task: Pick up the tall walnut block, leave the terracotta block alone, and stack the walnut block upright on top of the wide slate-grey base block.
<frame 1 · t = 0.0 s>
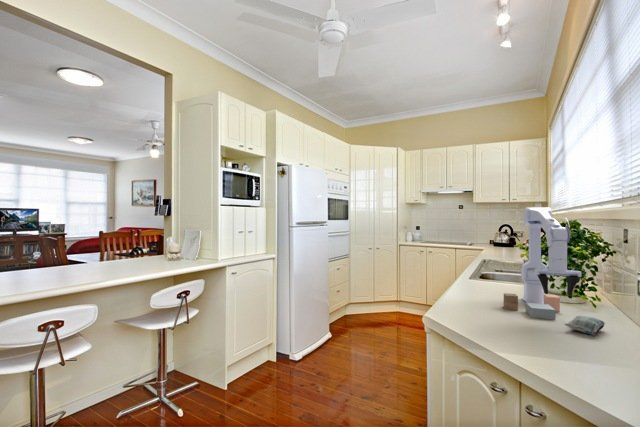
hand: (557, 294, 124), 10 cm above the countertop, fingers open, 7 cm apart
walnut block: (510, 308, 140), on the countertop
packaged food: (584, 331, 114), on the countertop
slate base block: (540, 316, 131), on the countertop
terracotta block: (551, 310, 138), on the countertop
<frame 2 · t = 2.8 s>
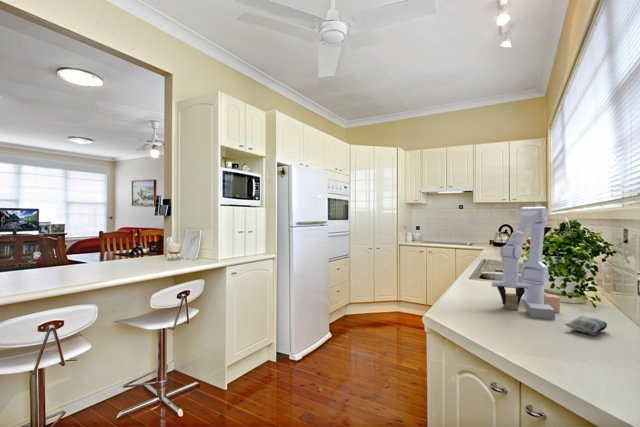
hand: (510, 304, 140), 2 cm above the countertop, fingers closed on walnut block, 4 cm apart
walnut block: (510, 308, 140), on the countertop, touching gripper
everything else where it was.
when the fingers open (7 cm above the countertop, at t = 5.9 s): walnut block drops 2 cm, point 4 cm above the countertop.
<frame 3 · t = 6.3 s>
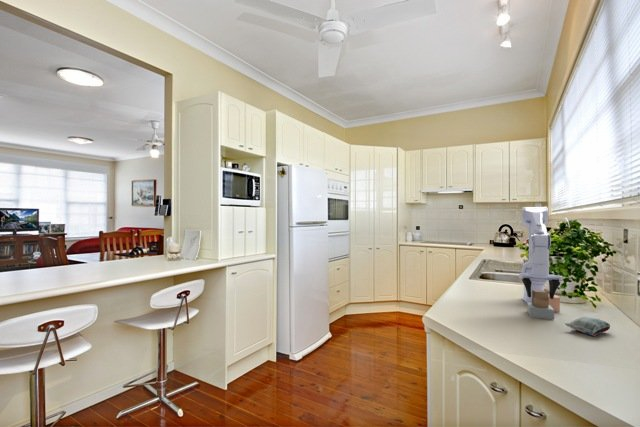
hand: (540, 297, 131), 7 cm above the countertop, fingers open, 7 cm apart
walnut block: (539, 306, 131), point 4 cm above the countertop
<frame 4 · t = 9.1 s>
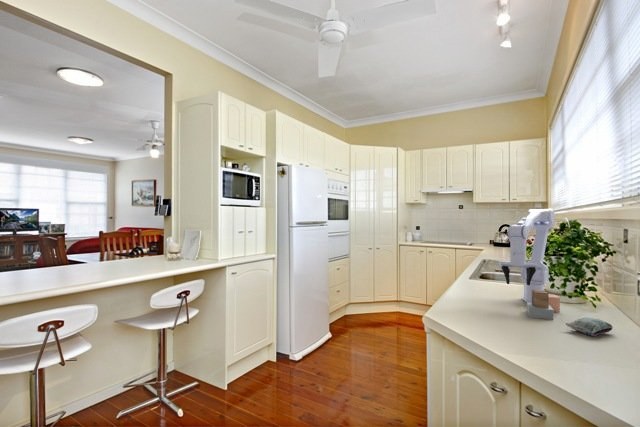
hand: (517, 284, 140), 10 cm above the countertop, fingers open, 7 cm apart
walnut block: (540, 306, 131), point 4 cm above the countertop, touching slate base block
slate base block: (539, 316, 131), on the countertop, touching walnut block
at the end: walnut block 0.2 cm off-centre on the slate base block, point 4.0 cm above the slate base block's base; walnut block tilted 0°; the gripper is holding nothing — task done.
